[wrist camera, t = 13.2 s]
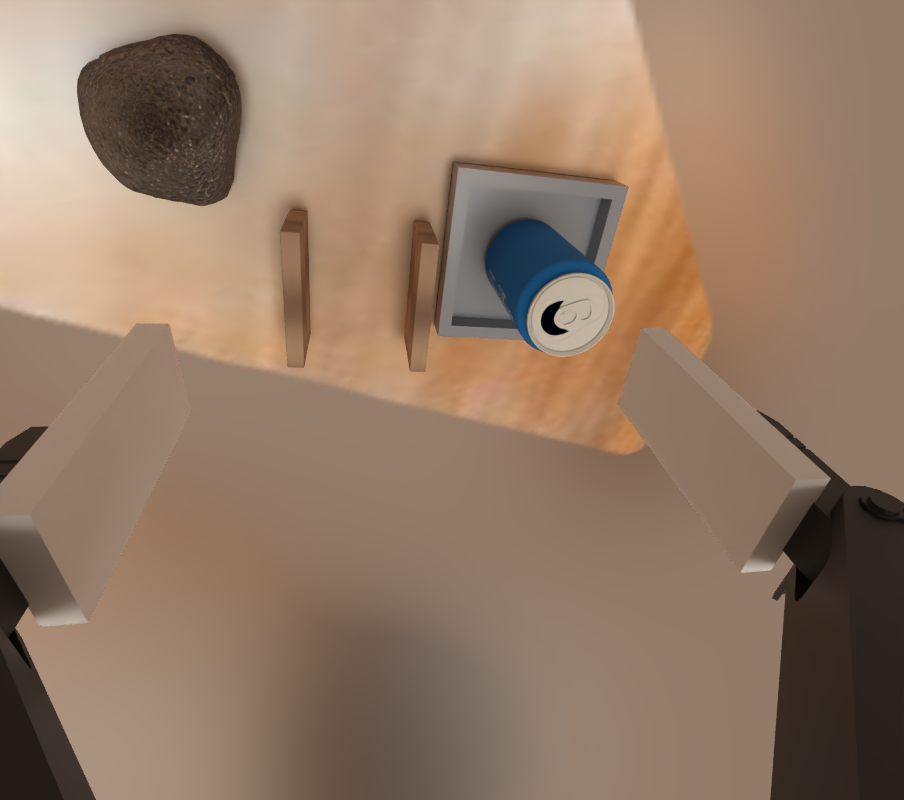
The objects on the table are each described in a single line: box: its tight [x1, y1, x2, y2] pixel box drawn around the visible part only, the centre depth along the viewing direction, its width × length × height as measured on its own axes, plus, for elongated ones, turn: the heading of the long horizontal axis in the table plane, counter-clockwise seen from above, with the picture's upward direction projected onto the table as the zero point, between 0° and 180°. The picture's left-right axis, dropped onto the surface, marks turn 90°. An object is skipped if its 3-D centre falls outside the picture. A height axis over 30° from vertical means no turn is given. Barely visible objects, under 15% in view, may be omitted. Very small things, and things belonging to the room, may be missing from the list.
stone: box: [77, 34, 241, 206], centre depth 32 cm, size 10×8×10 cm
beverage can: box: [485, 219, 615, 357], centre depth 37 cm, size 6×6×12 cm
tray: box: [434, 162, 628, 340], centre depth 41 cm, size 13×13×2 cm
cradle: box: [280, 210, 439, 372], centre depth 39 cm, size 10×10×6 cm
